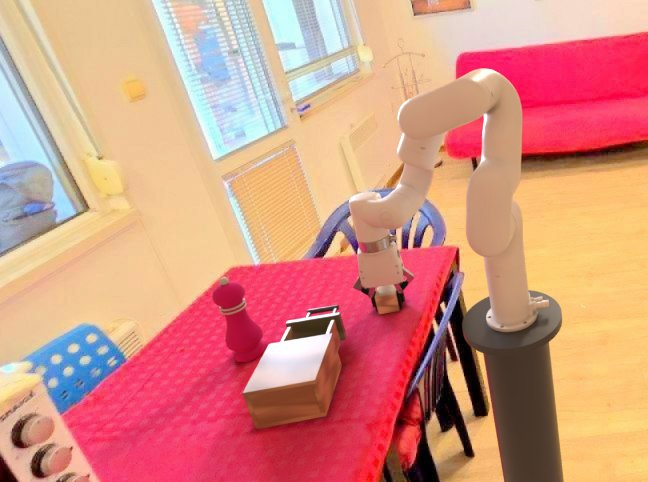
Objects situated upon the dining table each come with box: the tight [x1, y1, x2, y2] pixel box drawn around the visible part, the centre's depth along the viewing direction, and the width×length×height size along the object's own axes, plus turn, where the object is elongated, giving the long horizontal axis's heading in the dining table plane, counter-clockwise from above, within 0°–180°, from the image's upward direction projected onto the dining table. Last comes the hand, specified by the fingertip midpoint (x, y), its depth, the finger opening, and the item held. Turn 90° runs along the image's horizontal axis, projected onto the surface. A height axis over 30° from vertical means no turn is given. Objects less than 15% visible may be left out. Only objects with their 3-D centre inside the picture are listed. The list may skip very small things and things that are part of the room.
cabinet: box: [242, 333, 343, 430], centre depth 103 cm, size 15×13×9 cm
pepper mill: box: [211, 276, 266, 363], centre depth 116 cm, size 7×7×20 cm
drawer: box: [279, 304, 348, 351], centre depth 116 cm, size 21×11×7 cm, turn 11°
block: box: [375, 284, 401, 315], centre depth 132 cm, size 5×5×5 cm
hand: (389, 305), depth 132 cm, fingers closed on block, 5 cm apart
